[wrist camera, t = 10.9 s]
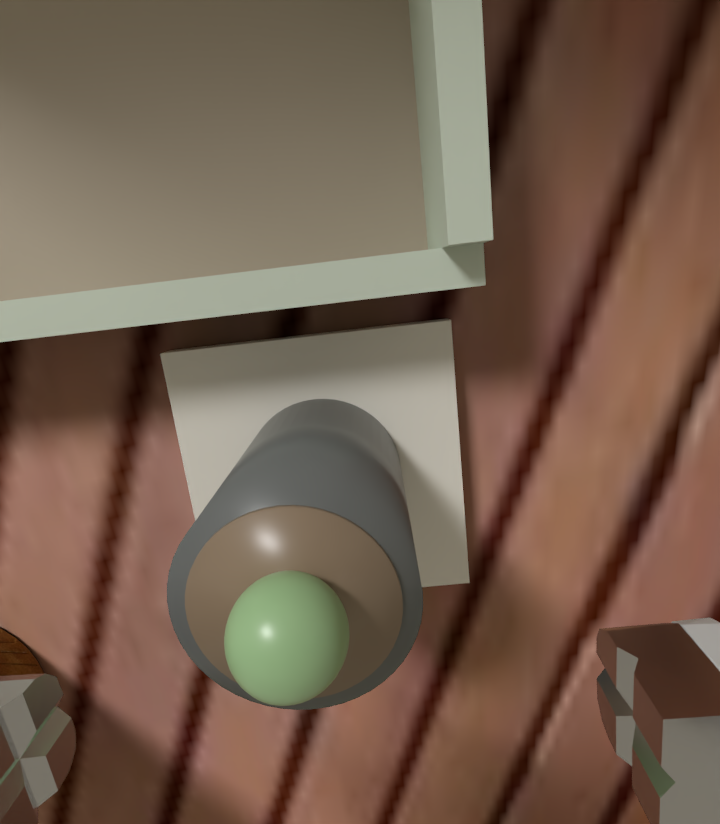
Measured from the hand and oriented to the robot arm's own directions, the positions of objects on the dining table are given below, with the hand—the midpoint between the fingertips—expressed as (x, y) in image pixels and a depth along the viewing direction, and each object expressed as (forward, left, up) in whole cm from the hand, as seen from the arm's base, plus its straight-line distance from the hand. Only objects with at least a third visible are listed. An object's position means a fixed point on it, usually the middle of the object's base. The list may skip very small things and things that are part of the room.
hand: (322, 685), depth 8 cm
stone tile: (+1, 0, -10) cm, 10 cm away
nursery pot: (+1, 0, -9) cm, 9 cm away
